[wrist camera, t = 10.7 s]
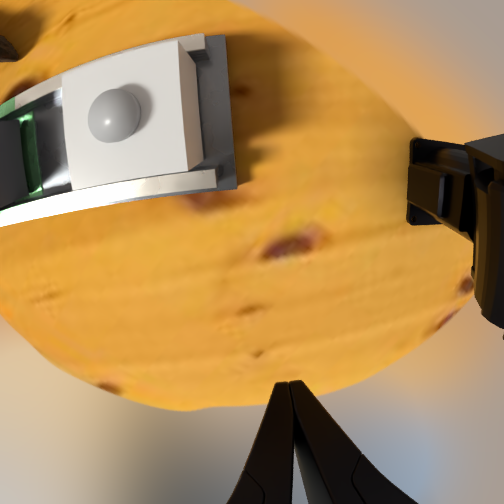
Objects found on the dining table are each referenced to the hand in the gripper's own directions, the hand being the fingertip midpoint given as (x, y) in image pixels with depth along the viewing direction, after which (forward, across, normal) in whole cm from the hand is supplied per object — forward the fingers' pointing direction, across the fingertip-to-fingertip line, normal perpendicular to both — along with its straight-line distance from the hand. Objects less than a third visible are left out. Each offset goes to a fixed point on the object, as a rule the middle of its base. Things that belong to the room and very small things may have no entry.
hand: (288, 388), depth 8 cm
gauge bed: (+12, +14, -9) cm, 20 cm away
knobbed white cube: (+11, +6, -9) cm, 15 cm away
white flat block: (+11, +18, -9) cm, 23 cm away
